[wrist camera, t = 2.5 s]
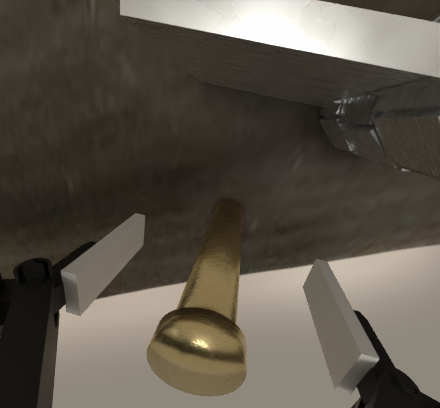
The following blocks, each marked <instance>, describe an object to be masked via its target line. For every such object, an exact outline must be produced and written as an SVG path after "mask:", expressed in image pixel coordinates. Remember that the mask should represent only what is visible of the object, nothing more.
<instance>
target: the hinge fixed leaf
mask: <svg viewBox="0 0 440 408" xmlns="http://www.w3.org/2000/svg"><path fill="white" fill-rule="evenodd" d="M120 15H121V16H122V17H124V18H125V19H126V20H127V21H128V22H130V23H131V24H132V25H133V26H134V27H136V28H137V29H138V30H139V31H140V32H142V33H143V34H144V35H145V36H146V37H148V38H149V39H150V40H151V41H152V42H154V43H155V44H156V45H157V46H158V47H160V48H161V49H162V50H163V51H164V52H166V53H167V54H168V55H169V56H170V57H172V58H173V59H174V60H175V61H176V62H178V63H179V64H180V65H181V66H183V67H184V68H185V69H186V70H187V71H189V72H190V73H191V74H192V75H193V76H195V77H196V78H197V79H198V80H199V81H201V82H204V83H208V84H213V85H218V86H223V87H227V88H232V89H237V90H242V91H247V92H251V93H256V94H261V95H266V96H270V97H275V98H280V99H285V100H290V101H294V102H299V103H304V104H309V105H313V106H318V107H322V108H321V111H320V114H319V116H323V118H322V119H320V120H319V121H320V123H321V125H322V127H323V130H324V132H325V134H326V136H327V138H328V140H329V142H330V144H331V146H335V147H334V148H337V149H340V150H343V151H346V152H350V153H353V154H357V155H358V153H357V152H356V151H355V149H354V148H353V147H352V145H351V144H350V143H349V141H348V140H347V139H346V137H345V136H344V135H343V133H342V132H341V131H340V129H341V128H342V127H343V126H344V125H346V124H339V120H340V115H341V111H342V106H343V102H344V99H348V98H352V97H356V96H360V95H364V94H368V93H369V94H374V95H378V96H379V97H378V99H377V102H376V104H375V106H374V108H373V111H377V112H382V113H381V114H379V115H378V116H376V117H374V118H372V120H373V122H374V125H375V127H376V130H377V132H378V135H379V137H380V140H381V142H382V145H383V147H384V149H385V152H386V154H387V157H388V159H389V162H391V163H394V164H396V165H395V166H396V167H399V168H402V169H406V170H409V171H412V172H416V173H419V174H422V175H425V176H429V177H432V178H435V179H439V180H440V19H439V20H438V21H436V22H432V21H426V20H421V19H415V18H410V17H405V16H399V15H394V14H388V13H383V12H377V11H372V10H367V9H361V8H356V7H350V6H345V5H340V4H334V3H329V2H323V1H318V0H120Z"/></svg>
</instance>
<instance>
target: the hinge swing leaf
mask: <svg viewBox="0 0 440 408" xmlns="http://www.w3.org/2000/svg"><path fill="white" fill-rule="evenodd" d="M439 19H440V13H438V14H436V15H435V16H433V17H431V18H429V19H428V20H426V21H432V22H436V21H438V20H439ZM378 97H379V96H378V95H374V94H369V93H368V94H364V95H360V96H356V97H352V98H348V99H344V102H343V106H342V111H341V115H340V120H339V124H346V125H344V126H343V127H342V128H341V129H340V131H341V132H342V133H343V135H344V136H345V137H346V139H347V140H348V141H349V143H350V144H351V145H352V147H353V148H354V149H355V151H356V152H357V153H358V155H359V156H360V157H363V158H365V159H366V160H370V161H373V162H376V163H379V164H382V165H385V166H388V167H391V168H395V169H398V170H401V171H409V170H406V169H402V168H399V167H396V166H395V165H396V164H394V163H391V162H389V159H388V157H387V154H386V152H385V149H384V147H383V145H382V142H381V140H380V137H379V135H378V132H377V130H376V127H375V125H374V122H373V120H372V118H374V117H376V116H378V115H379V114H381V113H382V112H377V111H373V108H374V106H375V104H376V102H377V99H378Z"/></svg>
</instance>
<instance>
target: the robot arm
mask: <svg viewBox="0 0 440 408" xmlns="http://www.w3.org/2000/svg"><path fill="white" fill-rule="evenodd" d="M144 226H145V215H141V214H137V213H135V214H134V215H133V216H131V217H130V218H129V219H127V220H126V221H125V222H124V223H122V224H121V225H120V226H118V227H117V228H116V229H114V230H113V231H112V232H111V233H109V234H108V235H107V236H105V237H104V238H103V239H102V240H100V241H99V242H98V243H96V242H92V241H91V242H89V243H86V244H84V245H82V246H80V247H79V248H78V249H76V250H75V251H73V252H72V253H71V254H69V256H66V257H65V258H64V259H62V260H61V261H59V262H58V263H57V264H55V265H54V266H52V264H51V261H50V260H48V259H46V258H34V259H30V260H27V261H24V262H22V263H20V264H19V265H17V266H16V267H15V268H14V270H13V273H14V277H15V279H2V277H1V274H0V408H52V400H53V388H54V376H55V364H56V352H57V339H58V327H59V310H60V309H61V308H62V307H63V306H64V305H65V304H66V311H67V312H69V313H72V314H76V315H79V316H81V314H82V313H83V312H84V311H85V310H86V309H87V308H88V307H89V305H90V304H91V303H92V302H93V301H94V300H95V299H96V298H97V297H98V295H99V294H100V293H101V292H102V291H103V290H104V289H105V288H106V286H107V285H108V284H109V283H110V282H111V281H112V280H113V279H114V278H115V276H116V275H117V274H118V273H119V272H120V271H121V270H122V269H123V267H124V266H125V265H126V264H127V263H128V262H129V261H130V260H131V258H132V257H133V256H134V255H135V254H136V253H137V252H138V251H139V250H140V248H141V247H142V246H143V243H144ZM303 289H304V292H305V295H306V299H307V302H308V305H309V308H310V311H311V315H312V318H313V321H314V324H315V328H316V330H317V334H318V337H319V340H320V343H321V347H322V350H323V353H324V356H325V359H326V363H327V366H328V369H329V372H330V375H331V379H332V382H333V385H334V388H335V390H339V391H342V392H346V393H349V394H351V393H352V392H353V391H354V389H355V388H356V387H357V388H358V391H359V393H360V396H361V397H360V398H359V400H358V401H357V402H356V403H355V404H354V405H353V406H352V407H351V408H440V403H439V402H438V401H436V400H434V399H432V398H430V397H429V396H427V395H425V394H423V393H422V392H420V390H419V389H418V387H417V386H416V384H415V383H414V382H413V381H412V380H411V379H410V378H409V377H408V376H407V375H406V374H405V373H403V372H402V371H400V370H399V369H396V368H395V366H394V365H393V363H392V361H391V359H390V358H389V356H388V354H387V353H386V351H385V349H384V348H383V346H382V344H381V342H380V341H379V339H377V336H376V334H375V332H374V331H373V329H372V327H371V326H370V324H369V322H368V320H367V319H366V318H365V317H364V316H363V315H362V314H361V313H360V312H359V311H355V310H353V309H352V307H351V305H350V303H349V301H348V300H347V298H346V296H345V294H344V292H343V290H342V288H341V287H340V285H339V283H338V281H337V279H336V277H335V276H334V274H333V272H332V270H331V268H330V266H329V265H328V263H327V261H323V260H319V259H316V260H315V262H314V264H313V267H312V269H311V271H310V273H309V275H308V277H307V279H306V281H305V283H304V286H303Z"/></svg>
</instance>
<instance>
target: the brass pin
mask: <svg viewBox="0 0 440 408" xmlns="http://www.w3.org/2000/svg"><path fill="white" fill-rule="evenodd" d="M242 227H243V207H242V205H241V204H240V203H239V202H238V201H236V200H234V199H224V200H222V201H220V202H219V203H218V205H217V207H216V209H215V212H214V214H213V217H212V219H211V222H210V225H209V227H208V230H207V232H206V235H205V237H204V240H203V243H202V245H201V248H200V250H199V253H198V255H197V258H196V260H195V263H194V266H193V268H192V271H191V273H190V276H189V278H188V281H187V284H186V286H185V289H184V291H183V294H182V296H181V299H180V302H179V304H178V307H177V309H176V310H174V311H171V312H169V313H168V314H166V315H165V316H164V317H163V318H162V319H161V321H160V322H159V324H158V327H157V329H156V331H155V333H154V335H153V338H152V340H151V342H150V344H149V347H148V349H147V360H148V363H149V365H150V367H151V369H152V370H153V371H154V373H155V374H156V375H157V376H158V377H159V378H160V379H162V380H163V381H164V382H166V383H167V384H169V385H170V386H172V387H174V388H176V389H178V390H181V391H183V392H187V393H190V394H195V395H200V396H219V395H224V394H228V393H230V392H233V391H234V390H236V389H237V388H239V387H240V386H241V385H242V383H243V382H244V380H245V376H246V340H245V337H244V335H243V333H242V331H241V330H240V328H239V327H238V326H237V325H236V317H237V303H238V286H239V272H240V257H241V242H242Z"/></svg>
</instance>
